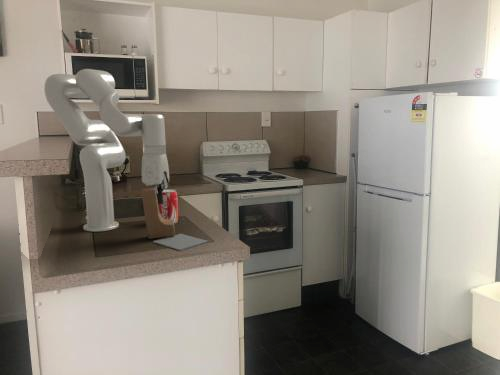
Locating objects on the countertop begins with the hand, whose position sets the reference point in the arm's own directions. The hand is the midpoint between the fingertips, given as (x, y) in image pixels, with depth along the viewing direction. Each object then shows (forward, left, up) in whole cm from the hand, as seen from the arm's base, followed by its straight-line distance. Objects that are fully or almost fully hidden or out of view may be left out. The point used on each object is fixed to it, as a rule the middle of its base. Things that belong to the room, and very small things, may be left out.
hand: (157, 204), depth 143 cm
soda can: (-12, +14, -12) cm, 22 cm away
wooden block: (+2, 0, -11) cm, 11 cm away
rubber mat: (+12, 0, -11) cm, 16 cm away
